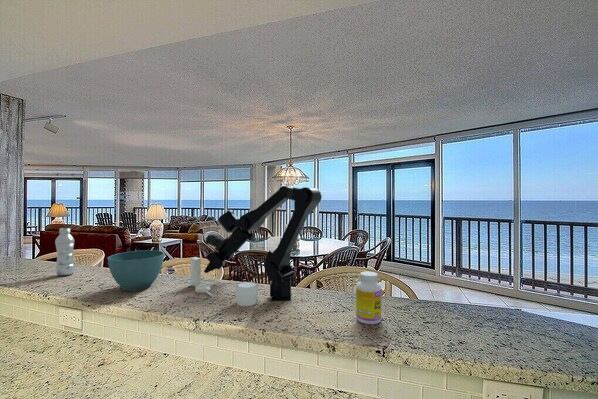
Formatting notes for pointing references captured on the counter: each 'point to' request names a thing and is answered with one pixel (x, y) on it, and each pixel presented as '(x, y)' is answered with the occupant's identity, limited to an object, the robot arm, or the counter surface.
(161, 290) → the counter surface
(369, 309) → the supplement bottle
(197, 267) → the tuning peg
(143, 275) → the teal bowl
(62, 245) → the plastic bottle
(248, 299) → the white cup
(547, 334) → the counter surface
